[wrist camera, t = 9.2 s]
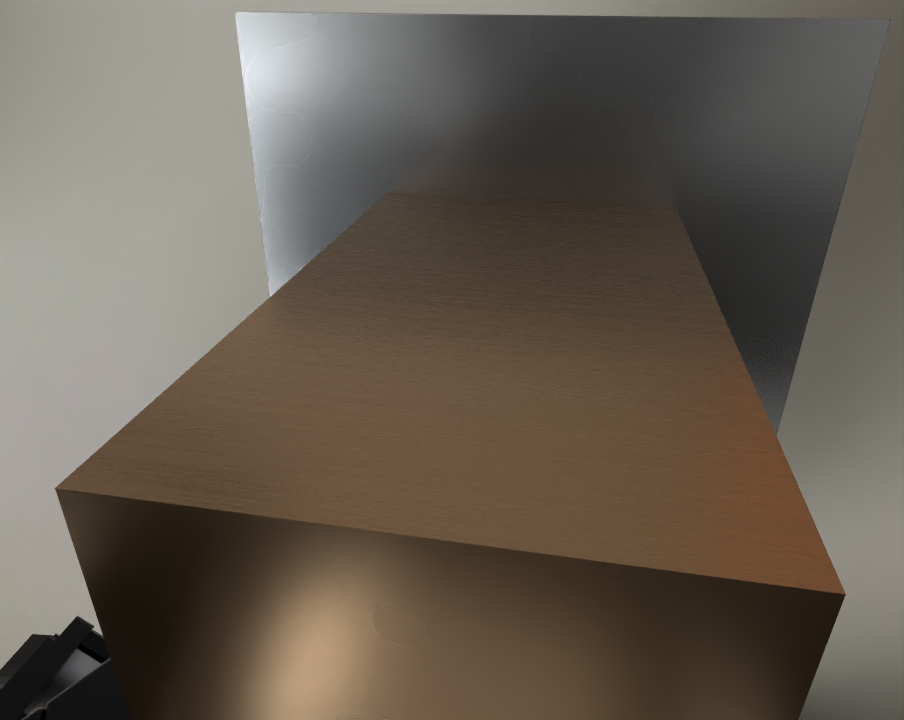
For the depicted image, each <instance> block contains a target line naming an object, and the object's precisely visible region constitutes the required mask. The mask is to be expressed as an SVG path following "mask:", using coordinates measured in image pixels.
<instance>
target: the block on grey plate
mask: <svg viewBox="0 0 904 720" xmlns="http://www.w3.org/2000/svg"><path fill="white" fill-rule="evenodd" d="M235 18H236V26H237V34H238V42H239V51H240V59H241V67H242V75H243V83H244V91H245V99H246V107H247V115H248V124H249V132H250V140H251V148H252V156H253V164H254V172H255V180H256V188H257V197H258V205H259V213H260V221H261V229H262V237H263V245H264V253H265V261H266V270H267V278H268V286H269V294H270V298H269V299H267V300H266V301H265V302H264V303H263V304H262V305H261V306H260V307H258V308H257V309H256V310H255V311H254V312H253V313H252V314H251V315H249V316H248V317H247V318H246V319H245V320H244V321H243V322H242V323H240V324H239V325H238V326H237V327H236V328H235V329H234V330H233V331H231V332H230V333H229V334H228V335H227V336H226V337H225V338H224V339H222V340H221V341H220V342H219V343H218V344H217V345H216V346H215V347H213V348H212V349H211V350H210V351H209V352H208V353H207V354H206V355H204V356H203V357H202V358H201V359H200V360H199V361H198V362H197V363H195V364H194V365H193V366H192V367H191V368H190V369H189V370H188V371H186V372H185V373H184V374H183V375H182V376H181V377H180V378H179V379H177V380H176V381H175V382H174V383H173V384H172V385H171V386H170V387H168V388H167V389H166V390H165V391H164V392H163V393H162V394H161V395H159V396H158V397H157V398H156V399H155V400H154V401H153V402H152V403H150V404H149V405H148V406H147V407H146V408H145V409H144V410H143V411H141V412H140V413H139V414H138V415H137V416H136V417H135V418H134V419H132V420H131V421H130V422H129V423H128V424H127V425H126V426H125V427H123V428H122V429H121V430H120V431H119V432H118V433H117V434H116V435H114V436H113V437H112V438H111V439H110V440H109V441H108V442H107V443H105V444H104V445H103V446H102V447H101V448H100V449H99V450H98V451H96V452H95V453H94V454H93V455H92V456H91V457H90V458H89V459H87V460H86V461H85V462H84V463H83V464H82V465H81V466H80V467H78V468H77V469H76V470H75V471H74V472H73V473H72V474H71V475H69V476H68V477H67V478H66V479H65V480H64V481H63V482H62V483H60V484H59V485H58V486H57V487H56V488H55V489H56V492H57V495H58V499H59V502H60V505H61V508H62V511H63V514H64V517H65V520H66V523H67V526H68V529H69V532H70V535H71V538H72V541H73V545H74V548H75V551H76V554H77V557H78V560H79V563H80V566H81V569H82V572H83V575H84V578H85V581H86V584H87V588H88V591H89V594H90V597H91V600H92V603H93V606H94V609H95V612H96V615H97V618H98V621H99V624H100V627H101V630H102V634H103V637H104V640H105V643H106V646H107V649H108V652H109V655H110V658H111V661H112V664H113V667H114V670H115V673H116V677H117V680H118V683H119V686H120V689H121V692H122V695H123V698H124V701H125V704H126V707H127V710H128V713H129V716H130V719H131V720H798V718H799V716H800V713H801V710H802V708H803V705H804V702H805V700H806V697H807V695H808V692H809V689H810V687H811V684H812V681H813V679H814V676H815V674H816V671H817V668H818V666H819V663H820V660H821V658H822V655H823V653H824V650H825V647H826V645H827V642H828V639H829V637H830V634H831V632H832V629H833V626H834V624H835V621H836V618H837V616H838V613H839V611H840V608H841V605H842V603H843V600H844V597H845V595H846V594H845V592H844V590H843V587H842V585H841V583H840V580H839V578H838V576H837V574H836V571H835V569H834V567H833V564H832V562H831V560H830V558H829V555H828V553H827V551H826V549H825V546H824V544H823V542H822V539H821V537H820V535H819V533H818V530H817V528H816V526H815V523H814V521H813V519H812V517H811V514H810V512H809V510H808V507H807V505H806V503H805V501H804V498H803V496H802V494H801V492H800V489H799V487H798V485H797V482H796V480H795V478H794V476H793V473H792V471H791V469H790V466H789V464H788V462H787V460H786V457H785V455H784V453H783V451H782V448H781V446H780V444H779V441H778V439H777V437H776V434H777V431H778V427H779V424H780V420H781V416H782V413H783V409H784V405H785V402H786V398H787V394H788V391H789V387H790V384H791V380H792V376H793V373H794V369H795V365H796V362H797V358H798V354H799V351H800V347H801V344H802V340H803V336H804V333H805V329H806V325H807V322H808V318H809V314H810V311H811V307H812V304H813V300H814V296H815V293H816V289H817V285H818V282H819V278H820V274H821V271H822V267H823V263H824V260H825V256H826V253H827V249H828V245H829V242H830V238H831V234H832V231H833V227H834V223H835V220H836V216H837V213H838V209H839V205H840V202H841V198H842V194H843V191H844V187H845V183H846V180H847V176H848V173H849V169H850V165H851V162H852V158H853V154H854V151H855V147H856V143H857V140H858V136H859V133H860V129H861V125H862V122H863V118H864V114H865V111H866V107H867V103H868V100H869V96H870V92H871V89H872V85H873V82H874V78H875V74H876V71H877V67H878V63H879V60H880V56H881V52H882V49H883V45H884V42H885V38H886V34H887V31H888V27H889V23H890V20H891V19H840V18H750V17H660V16H570V15H480V14H389V13H299V12H235Z"/></svg>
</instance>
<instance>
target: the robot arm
mask: <svg viewBox="0 0 904 720" xmlns="http://www.w3.org/2000/svg"><path fill="white" fill-rule="evenodd" d="M93 628H94V626H93V625H92V624H90V623H88V622H87V621H85V620H84V619H82V618H81V617H79V616H77V617H76V618H75V619H74V620H73V621H72V622H71V623H70V625H69V626H68V627H67V628H66V629H65V630H64V631H63V632H62V634H61V635H60V636H59V635H58V634H55V635H54V636H52V635H37V634H32V635H31V636H30V638H29V639H28V640H27V641H26V642H25V643H24V644H23V645H22V646H21V648H20V649H19V650H18V651H17V652H16V653H15V654H14V655H13V656H12V658H11V659H10V660H9V661H8V662H7V663H6V664H5V665H4V666H3V668H2V669H1V670H0V720H131V719H130V716H129V713H128V710H127V707H126V704H125V701H124V698H123V695H122V692H121V689H120V686H119V683H118V680H117V677H116V673H115V670H114V667H113V664H112V661H111V658H110V655H109V652H108V649H107V646H106V643H105V640H104V637H103V636H102V635H100V634H99V633H97V632H96V631H94V630H92V629H93Z"/></svg>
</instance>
